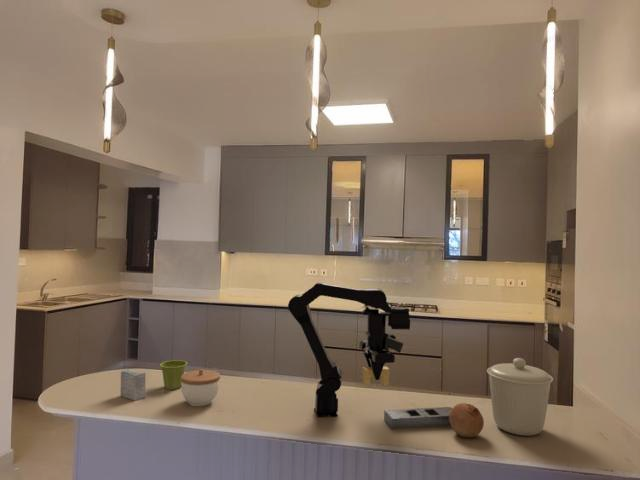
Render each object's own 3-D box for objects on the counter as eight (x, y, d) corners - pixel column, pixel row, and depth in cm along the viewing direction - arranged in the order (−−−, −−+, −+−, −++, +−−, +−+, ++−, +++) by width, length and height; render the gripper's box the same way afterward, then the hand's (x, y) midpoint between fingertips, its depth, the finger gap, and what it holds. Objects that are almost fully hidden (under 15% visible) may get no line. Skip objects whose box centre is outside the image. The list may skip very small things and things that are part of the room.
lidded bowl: (200, 412, 140) (200, 377, 140) (172, 404, 146) (172, 370, 146) (227, 400, 151) (228, 368, 151) (200, 393, 157) (200, 362, 157)
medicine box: (145, 397, 152) (146, 372, 152) (134, 401, 148) (134, 375, 148) (131, 392, 156) (132, 368, 156) (119, 396, 152) (120, 371, 152)
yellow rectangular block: (364, 386, 138) (365, 369, 138) (362, 383, 141) (362, 367, 141) (389, 385, 140) (389, 369, 140) (386, 382, 143) (386, 366, 143)
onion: (478, 449, 125) (494, 423, 122) (448, 440, 125) (462, 414, 121) (469, 424, 134) (483, 399, 131) (440, 416, 133) (454, 390, 130)
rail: (391, 429, 131) (391, 418, 131) (384, 419, 137) (384, 409, 137) (461, 425, 134) (461, 415, 134) (450, 416, 141) (450, 406, 141)
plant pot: (179, 392, 158) (180, 367, 158) (154, 390, 159) (155, 366, 159) (190, 384, 167) (191, 361, 167) (167, 382, 168) (167, 359, 168)
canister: (561, 445, 122) (563, 368, 123) (492, 438, 126) (494, 364, 126) (540, 419, 140) (542, 353, 140) (480, 414, 143) (482, 349, 144)
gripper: (411, 334, 133) (410, 386, 133) (390, 323, 151) (390, 369, 151) (376, 335, 131) (375, 388, 131) (359, 323, 149) (358, 370, 149)
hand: (375, 378), depth 141 cm, fingers closed on yellow rectangular block, 3 cm apart
